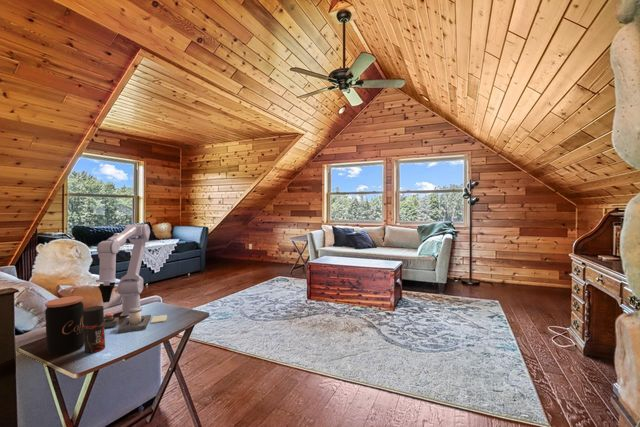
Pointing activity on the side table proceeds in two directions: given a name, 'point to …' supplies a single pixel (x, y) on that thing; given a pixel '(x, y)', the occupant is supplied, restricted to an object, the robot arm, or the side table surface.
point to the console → (111, 323)
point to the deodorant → (94, 329)
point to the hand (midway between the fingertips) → (106, 301)
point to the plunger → (109, 317)
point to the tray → (159, 319)
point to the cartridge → (134, 315)
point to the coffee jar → (64, 325)
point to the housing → (126, 327)
